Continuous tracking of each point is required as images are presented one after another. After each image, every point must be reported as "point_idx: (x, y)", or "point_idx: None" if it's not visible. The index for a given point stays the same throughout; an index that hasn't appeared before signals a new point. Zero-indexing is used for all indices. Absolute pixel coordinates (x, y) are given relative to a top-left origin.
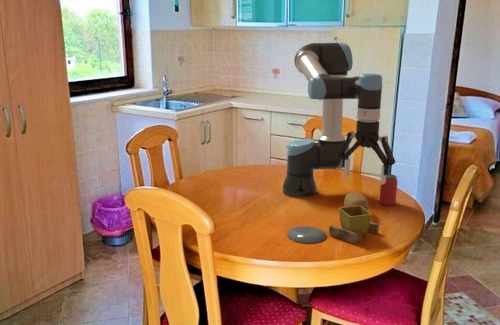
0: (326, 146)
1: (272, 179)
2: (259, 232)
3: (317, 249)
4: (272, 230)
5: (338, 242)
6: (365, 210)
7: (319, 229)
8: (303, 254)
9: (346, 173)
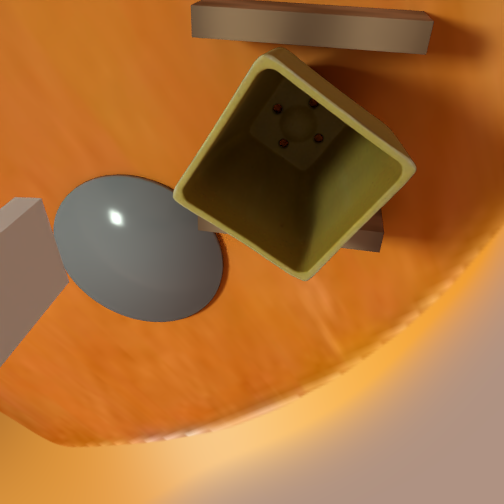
0: None
1: None
2: None
3: (250, 331)
4: None
5: None
6: (343, 121)
7: (141, 184)
8: (235, 376)
9: (38, 308)
